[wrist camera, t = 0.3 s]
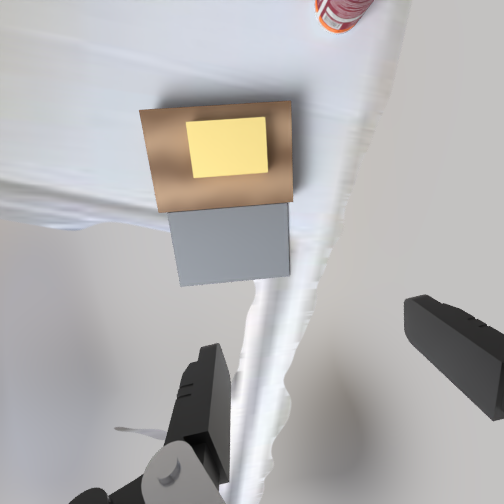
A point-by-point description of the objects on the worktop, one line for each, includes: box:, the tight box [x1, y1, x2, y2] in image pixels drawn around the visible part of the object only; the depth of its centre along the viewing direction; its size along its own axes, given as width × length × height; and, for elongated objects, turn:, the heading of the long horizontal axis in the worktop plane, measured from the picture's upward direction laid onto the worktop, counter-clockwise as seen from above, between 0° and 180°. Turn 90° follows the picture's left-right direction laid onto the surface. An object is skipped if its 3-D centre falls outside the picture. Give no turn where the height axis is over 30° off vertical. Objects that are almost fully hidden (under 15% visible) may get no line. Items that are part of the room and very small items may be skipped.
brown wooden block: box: [139, 101, 293, 213], centre depth 31 cm, size 12×18×4 cm, turn 94°
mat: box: [167, 203, 289, 287], centre depth 37 cm, size 12×18×1 cm, turn 94°
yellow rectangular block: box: [186, 117, 268, 178], centre depth 28 cm, size 6×9×2 cm, turn 94°
